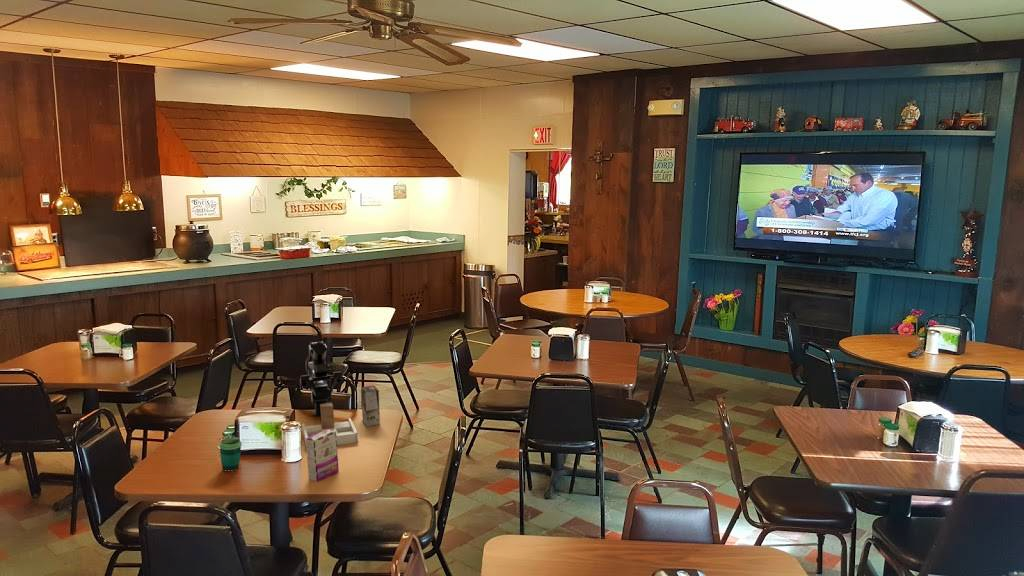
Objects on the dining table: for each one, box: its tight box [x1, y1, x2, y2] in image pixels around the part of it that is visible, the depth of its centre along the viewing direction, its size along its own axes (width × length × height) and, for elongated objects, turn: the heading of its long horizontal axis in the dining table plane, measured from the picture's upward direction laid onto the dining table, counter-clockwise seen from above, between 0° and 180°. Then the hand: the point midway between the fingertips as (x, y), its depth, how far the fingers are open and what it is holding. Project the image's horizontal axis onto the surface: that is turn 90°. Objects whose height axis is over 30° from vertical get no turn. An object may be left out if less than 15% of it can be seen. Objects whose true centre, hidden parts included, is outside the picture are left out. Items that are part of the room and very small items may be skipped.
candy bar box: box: [305, 429, 340, 483], centre depth 272 cm, size 11×5×16 cm, turn 148°
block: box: [320, 402, 335, 429], centre depth 318 cm, size 5×5×10 cm
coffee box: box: [360, 385, 381, 427], centre depth 330 cm, size 9×6×16 cm
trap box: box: [301, 417, 359, 446], centre depth 312 cm, size 21×21×4 cm
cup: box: [218, 436, 243, 471], centre depth 279 cm, size 8×8×12 cm
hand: (323, 395), depth 328 cm, fingers open, 6 cm apart
